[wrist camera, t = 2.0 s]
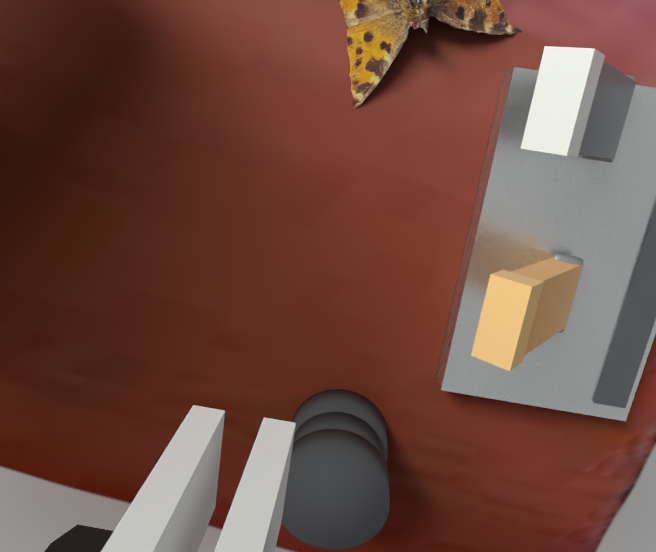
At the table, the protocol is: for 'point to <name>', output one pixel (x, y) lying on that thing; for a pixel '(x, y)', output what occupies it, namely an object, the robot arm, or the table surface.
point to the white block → (578, 105)
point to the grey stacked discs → (337, 472)
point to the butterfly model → (406, 31)
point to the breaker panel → (565, 238)
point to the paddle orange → (525, 309)
